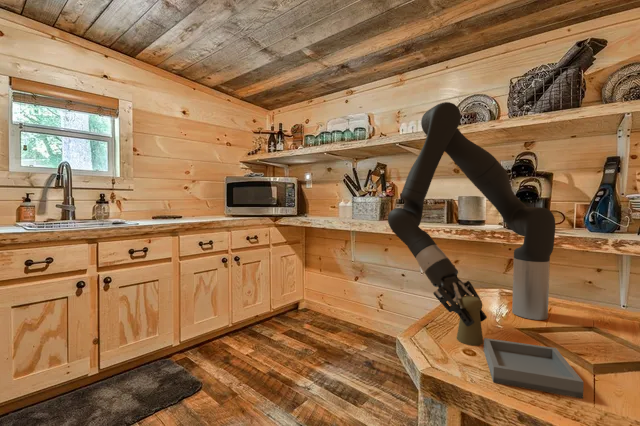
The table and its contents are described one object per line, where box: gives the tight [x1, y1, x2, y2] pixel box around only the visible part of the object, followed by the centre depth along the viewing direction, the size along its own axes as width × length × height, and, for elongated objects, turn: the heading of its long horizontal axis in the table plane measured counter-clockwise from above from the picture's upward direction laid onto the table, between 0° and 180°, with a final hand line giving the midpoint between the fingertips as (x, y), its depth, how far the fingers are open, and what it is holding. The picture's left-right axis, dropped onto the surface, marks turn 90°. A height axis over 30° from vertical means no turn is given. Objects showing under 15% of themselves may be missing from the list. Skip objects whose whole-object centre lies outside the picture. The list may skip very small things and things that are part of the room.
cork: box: [456, 295, 484, 347], centre depth 79 cm, size 6×6×11 cm
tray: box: [483, 337, 585, 400], centre depth 65 cm, size 14×14×3 cm
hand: (477, 322), depth 78 cm, fingers closed on cork, 5 cm apart
